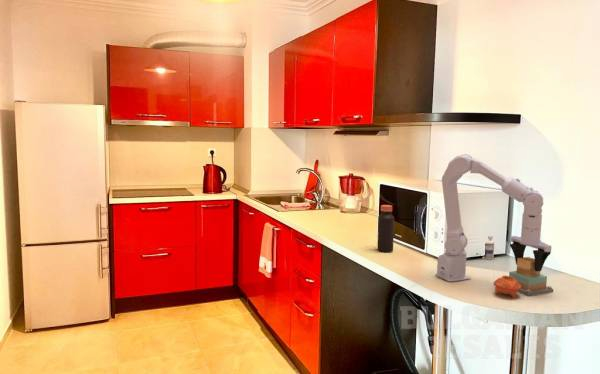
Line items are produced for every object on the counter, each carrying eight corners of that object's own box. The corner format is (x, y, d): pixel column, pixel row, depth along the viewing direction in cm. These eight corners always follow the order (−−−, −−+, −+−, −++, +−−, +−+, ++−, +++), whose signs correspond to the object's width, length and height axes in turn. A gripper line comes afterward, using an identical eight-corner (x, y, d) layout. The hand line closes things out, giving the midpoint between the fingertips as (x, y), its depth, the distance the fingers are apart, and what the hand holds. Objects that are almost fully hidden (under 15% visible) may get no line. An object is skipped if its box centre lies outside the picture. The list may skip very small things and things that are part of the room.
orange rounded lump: (495, 287, 153) (502, 269, 151) (519, 298, 148) (526, 280, 146) (487, 293, 147) (494, 274, 145) (511, 304, 142) (519, 285, 140)
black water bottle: (380, 248, 204) (381, 204, 202) (395, 250, 201) (396, 205, 198) (374, 251, 199) (376, 206, 196) (389, 253, 195) (391, 207, 193)
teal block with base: (528, 296, 146) (529, 281, 145) (501, 285, 156) (502, 271, 156) (553, 291, 150) (554, 277, 149) (525, 281, 160) (526, 267, 160)
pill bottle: (481, 255, 194) (483, 232, 193) (495, 257, 190) (496, 234, 189) (477, 258, 190) (479, 235, 188) (491, 260, 186) (492, 237, 185)
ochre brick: (528, 277, 149) (529, 262, 149) (516, 272, 154) (517, 258, 153) (540, 275, 151) (541, 260, 150) (527, 271, 156) (528, 256, 155)
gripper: (559, 231, 145) (556, 272, 147) (522, 222, 159) (519, 260, 160) (543, 233, 143) (540, 275, 144) (506, 224, 156) (504, 262, 158)
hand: (528, 267), depth 152 cm, fingers open, 7 cm apart
